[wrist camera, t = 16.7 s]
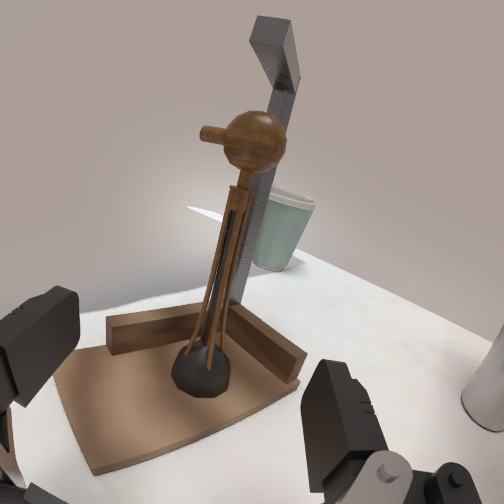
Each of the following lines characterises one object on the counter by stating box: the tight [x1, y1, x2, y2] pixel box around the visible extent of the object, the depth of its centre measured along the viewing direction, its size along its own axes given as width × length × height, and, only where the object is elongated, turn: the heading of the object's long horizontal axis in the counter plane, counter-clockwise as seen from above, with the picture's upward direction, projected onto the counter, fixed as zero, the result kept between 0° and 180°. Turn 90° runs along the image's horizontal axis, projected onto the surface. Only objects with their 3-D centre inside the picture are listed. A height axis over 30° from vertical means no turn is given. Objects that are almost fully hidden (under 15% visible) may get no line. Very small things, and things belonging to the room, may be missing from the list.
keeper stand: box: [53, 16, 308, 476], centre depth 18 cm, size 19×11×27 cm, turn 133°
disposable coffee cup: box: [252, 184, 316, 272], centre depth 53 cm, size 11×11×15 cm
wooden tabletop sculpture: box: [171, 111, 287, 398], centre depth 19 cm, size 6×5×20 cm
